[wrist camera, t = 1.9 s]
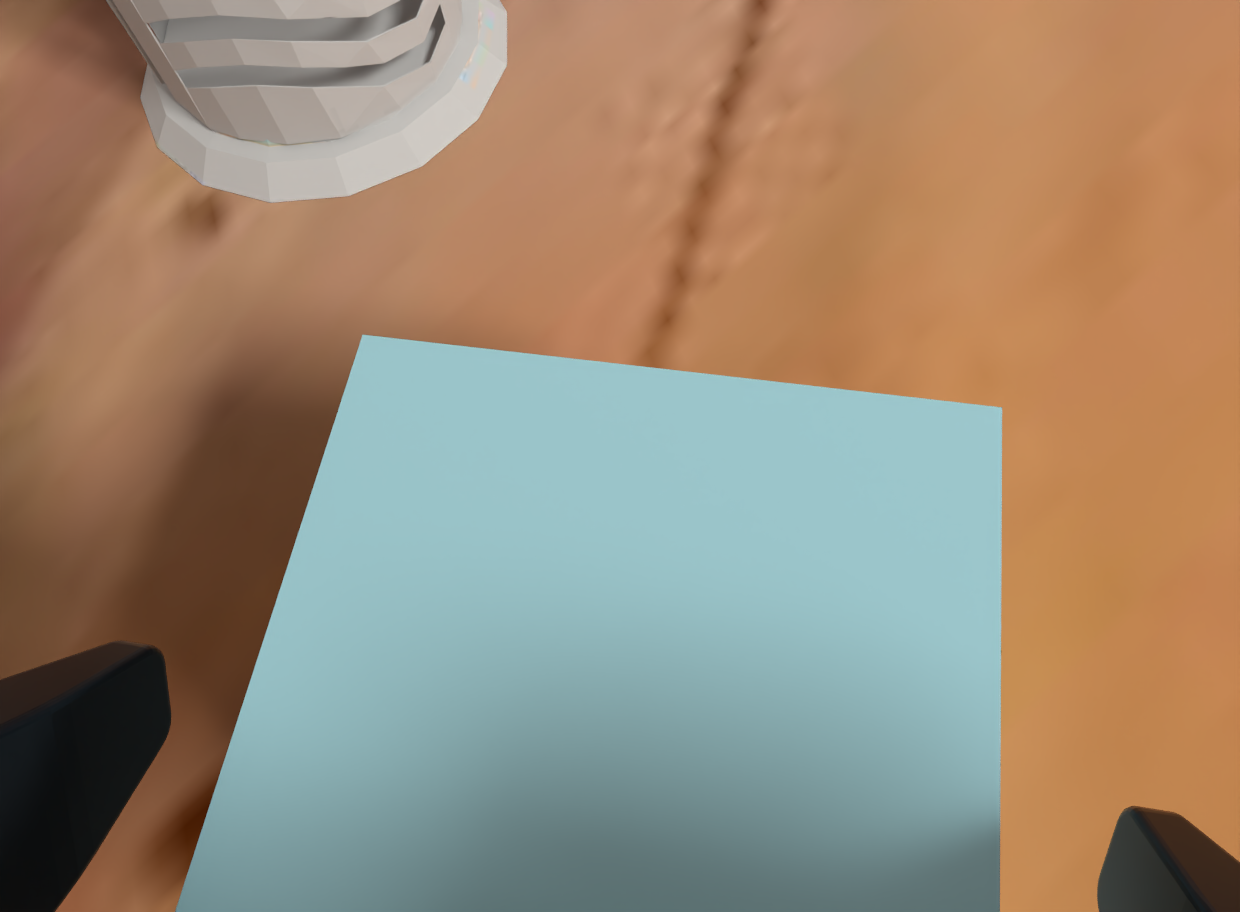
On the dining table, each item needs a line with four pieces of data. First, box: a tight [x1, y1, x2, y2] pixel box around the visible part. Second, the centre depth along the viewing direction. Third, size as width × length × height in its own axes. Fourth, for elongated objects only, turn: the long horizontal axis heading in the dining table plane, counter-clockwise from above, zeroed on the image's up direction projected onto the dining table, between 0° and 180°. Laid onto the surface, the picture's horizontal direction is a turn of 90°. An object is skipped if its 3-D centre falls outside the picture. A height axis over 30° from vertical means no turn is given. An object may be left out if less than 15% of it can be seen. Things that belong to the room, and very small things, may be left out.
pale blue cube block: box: [175, 335, 1002, 912], centre depth 13 cm, size 7×7×9 cm
